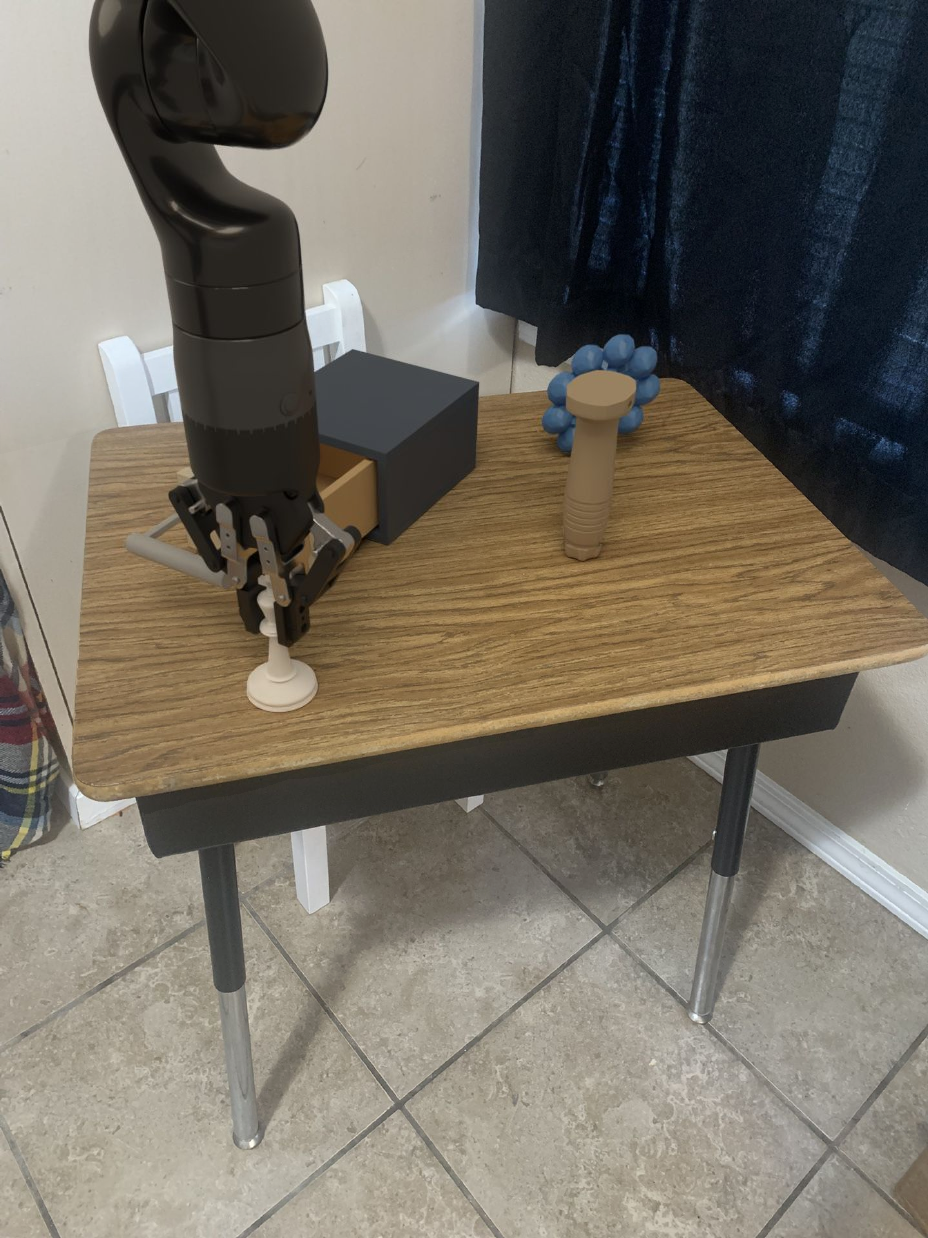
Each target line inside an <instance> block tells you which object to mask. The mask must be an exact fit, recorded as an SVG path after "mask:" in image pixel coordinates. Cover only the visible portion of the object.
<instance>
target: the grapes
mask: <svg viewBox="0 0 928 1238" xmlns="http://www.w3.org/2000/svg"><path fill="white" fill-rule="evenodd" d="M657 363H658V353H657V351H656V349H654V348H653V347H652V346H649V345H643V346H639V347H637V348H636V346H635V339H634V338H633V337H632V336H631V335H629V334H623V333H621V334H620V333H619V334H617V335H615V336H612V337H611V338H610V339H609V340H608V341H607V342H606V343H605V345H604V347H603V349H602V348H601V347H600V346H598V344H586V345H584V346H582V347H580V348H579V349H578V350H577V351H576V352H575V353H574V354H573V356H572V359H571V361H570V366H571V372H569V371H562V372H559V373H557V374H556V375H555V376H554V377H553V378H552V379H551V380H550V381H549V383H548V385H547V389H546V392H547V398H548V400H549V401H550V402H551V403H552V404H551V405H550V406H549V407H548V408H547V409H546V410H545V411H544V413H543V414H542V418H541V424H542V429H543V430H544V432H546V433H547V434H549V435H557V437H556V444H557V448H558V449H559V450H560V451H561V452H562V453H566V454H571V452H572V446H573V439H574V433H575V427H576V419H577V417H575V416H574V415H572V414H571V413H570V412H569V411H567V410H566V393H567V386H568V384H569V383H570V382H571V381H572V380H573V379H575V378H576V377H577V376H579V375H582V374H585V373H588V372H592V371H596V370H606V371H613V372H617V373H621V374H624V375H627V376H629V377H631V378H633V379H634V380H635V381H636V394H635V401H634V404H633V406H632V408H631V411H630V412H629V414H628V415H626V416H624V417H622V418H620V419H619V425H618V433H617V435H624V436H625V435H629V434H632V433H634V432H635V431H637V430H638V428H640V426H642V423H643V421H644V418H645V417H644V409H643V407H642V406H646V405H649V404H651V403H652V402H653V401H654V400H655V399H657V397H658V396H659V393H660V391H661V381H660V378H659V377H658V376H657V375H656V374H653V371H654V370H655V368H656V366H657Z"/></svg>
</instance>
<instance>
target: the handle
mask: <svg viewBox="0 0 928 1238" xmlns="http://www.w3.org/2000/svg"><path fill="white" fill-rule="evenodd" d="M635 394H636V381H635V380H634V379H633V378H631V377H629V376H627V375H624V374H621V373H617V372H613V371H606V370H596V371H592V372H588V373H585V374H582V375H579V376H577V377H576V378H575V379H573V380H572V381H571V382H570V383H569V384H568V386H567V393H566V410H567V411H569V412H570V413H571V414H572V415H574V416H575V417H577V419H576V427H575V433H574V439H573V446H572V452H571V453H570V458H569V463H568V468H567V469H568V470H567V475H566V481H565V485H564V486H565V487H564V495H563V505H562V533H563V537H562V543H563V547H564V552H565V555H566V556H567V557H568V558H574V559H576V560H578V561H580V562H585V561H586V560H589V559H592V558H593V559H594V558H597V557H598V556H600V554H601V551H602V547H603V542H602V540H603V539H604V537H605V534H606V531H607V527H608V522H609V519H610V513H611V509H612V501H613V495H614V484H615V483H614V482H615V468H616V455H617V444H618V425H619V419H620V418H622V417H624V416H626V415H628V414H629V412H630V411H631V408H632V406H633V404H634V401H635Z"/></svg>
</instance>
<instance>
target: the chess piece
mask: <svg viewBox="0 0 928 1238" xmlns="http://www.w3.org/2000/svg"><path fill="white" fill-rule="evenodd" d="M258 584H260V585H263V586H266V587H267V589H266V590H264V591H262V592H261V593H260V594H259V595H258V597H257V602H258V604H259V606H260V608H261V609H262V611H263V613H264V615H265V617H266V618H264V619H263V620H262V621H261V623H260V631H261V632H260V633H261V634H262V635H264V636H266V637H268V660H267V661H266V662H264V663H261V664H260V665H258V666H257V667H256V668H255V669H253V670H252V671H251V673H250V674H249V675H248V678H247V679H246V680H247V681H246V696H247V698H248V700H249V701H250V703H251V704H252V705H253V706H255V707H256V708H258V709H260V710H262V711H266V712H271V713H286V712H291V711H295V710H298V709H300V708H303V707H304V706H306V705H307V704H309V703H310V702H311V701H312V700H313V699H314V698H315V696H316V695H317V692H318V690H319V689H318V688H319V684H318V683H319V682H318V679H317V675H316V673H315V671H314V670H313V668H312V667H311V666H310V665H308V664H306V663H305V662H303V661H301V660H298V659H293V658H291V656H290V653H289V649H288V648H287V647H285V646H282V645H280V644H278V639H277V630H276V622H275V613H274V604H273V603H274V602H275V601H276V600H275V599H274V595H273V590H272V585H271V580H270V576H269V575H267V574H265V576H263V575H261V576H260V577H259V578H258Z"/></svg>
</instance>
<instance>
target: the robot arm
mask: <svg viewBox="0 0 928 1238" xmlns="http://www.w3.org/2000/svg"><path fill="white" fill-rule="evenodd" d="M88 57H89V64H90V71H91V76H92V79H93V83H94V86H95V90H96V94H97V97H98V100H99V103H100V106H101V108H102V110H103V113H104V116H105V118H106V121H107V124H108V126H109V128H110V131H111V133H112V135H113V137H114V140H115V142H116V145H117V147H118V149H119V151H120V154H121V156H122V158H123V161H124V162H125V165H126V168H127V169H128V172H129V174H130V177H131V180H132V181H133V183H134V186H135V188H136V189H135V190H136V192H137V194H138V197H139V198H140V201H141V203H142V206H143V208H144V211H145V213H146V214H147V217H148V219H149V221H150V224H151V225H152V228H153V230H154V233H155V235H156V238H157V241H158V244H159V248H160V254H161V262H162V267H163V273H164V280H165V286H166V291H167V298H168V304H169V310H170V317H171V326H172V357H173V367H174V373H175V374H174V375H175V380H176V385H177V390H178V391H177V392H178V397H179V403H180V410H181V416H182V423H183V429H184V435H185V440H186V446H187V453H188V459H189V465H190V468H191V470H192V472H193V474H194V476H193V477H191V478H190V479H187V480H186V481H184V482H183V483H181V484H179V485H178V484H177V486H175V487H174V488H173V489H170V490H169V491H168V493H167V497H168V500H169V502H170V505H172V507H173V509H174V511H175V513H176V512H177V514H178V516H179V518H180V519H181V521H182V522H181V523H182V525H183V526H184V528H185V531H186V530H187V532H188V534H189V535H190V537H191V539H192V541H193V542H194V544H195V546H196V548H197V549H196V550H197V552H198V553H199V556H201V557H202V558H203V560H204V562H205V564H206V565H207V567H208V568H209V569H210V570H211V571H212V572H214V573H218V572H219V571H221V570H222V571H223V572H224V573H226V574H227V575H228V580H229V582H230V584H231V585H232V588H235V593H236V600H237V607H238V613H239V616H240V619H241V621H242V622H243V623H244V624H243V625H244V630H245V632H247V633H250V634H253V635H255V636H256V635H259V634H260V633H261V631H260V623H261V621H262V620H263V619H264V618H266V617H265V615H264V613H263V611H262V609H261V608H260V606H259V604H258V602H257V597H258V595H259V594H260V593H261V592H262V591H264V590H266V589H267V587H266V586H263V585H260V584H258V578H259V577H260V576H261V575H263V576H265V574H267V575H269V576H270V580H271V585H272V590H273V595H274V599H275V600H276V601H275V602H274V603H273V604H274V613H275V622H276V630H277V639H278V644H280V645H282V646H285V647H287V649H288V648H289V649H290V648H291V647H293V646H294V645H295V644H297V643H298V642H299V641H300V640H301V639H302V638H303V637H304V636H306V635H307V633H308V632H310V629H311V615H310V607H311V606H313V605H314V604H315V603H316V602H317V601H318V600H320V599H321V598H322V597H323V596H324V595H325V594H326V593H328V591H329V590H331V589H332V588H333V587H334V586H335V584H336V583H337V581H338V580H339V578H340V576H341V574H342V573H343V571H344V569H345V568H346V566H347V564H348V563H349V561H350V560H351V558H352V556H353V554H354V553H355V551H356V550H357V548H358V547H359V545H360V543H361V541H362V539H363V538H362V535H361V533H360V531H359V530H358V529H357V528H356V527H355V526H352V525H349V526H347V527H346V528H345V529H343V530H342V529H341V528H340V527H338V526H337V525H336V524H335V523H334V522H333V521H331V520H330V519H329V518H328V517H327V516H326V515H324V511H325V507H324V503H323V500H322V498H321V496H320V494H319V492H318V489H317V486H316V478H317V473H318V468H319V464H320V444H319V430H318V416H317V401H316V387H315V373H314V372H315V360H314V351H313V345H312V340H311V336H310V331H309V326H308V320H307V315H306V314H307V312H306V300H305V299H306V297H305V296H306V295H305V285H304V270H303V258H302V245H301V244H302V243H301V235H300V229H299V224H298V221H297V217H296V215H295V213H294V211H293V210H292V208H291V207H290V206H289V205H288V204H287V203H286V202H285V201H283V200H281V199H280V198H278V197H276V196H274V195H272V194H270V193H268V192H265V191H263V190H261V189H258V188H256V187H254V186H252V185H249V184H247V183H246V182H243V180H240V179H238V178H237V177H236V176H234V174H232V173H231V172H230V171H229V170H228V169H227V167H226V165H225V164H224V162H223V160H222V158H221V157H220V154H219V153H218V151H217V148H216V146H221V147H231V148H238V149H247V150H256V151H276V150H277V151H279V150H284V149H289V148H291V147H292V146H295V145H296V144H298V143H300V142H301V141H302V140H303V139H305V138H306V137H307V136H308V135H309V134H310V133H311V132H312V131H313V129H314V127H315V126H316V124H317V123H318V122H319V119H320V117H321V115H322V112H323V109H324V106H325V103H326V100H327V96H328V87H329V58H328V50H327V45H326V40H325V36H324V32H323V28H322V25H321V21H320V19H319V15H318V13H317V11H316V8H315V6H314V3H313V1H312V0H94V2H93V4H92V10H91V14H90V19H89V25H88ZM214 530H215V532H216V534H217V535H218V537H219V539H220V541H221V547H220V548H219V549H218V550H217V548H216V547H215V545H214V543H213V541H212V539H211V537H210V534H211V532H213V531H214ZM310 532H312V534H313V536H314V544H313V547H314V550H313V551H312V552H311V544H310V538H309V533H310ZM310 554H312V556H313V557H314V558H316V559H315V561H314V563H313V565H312V566H311V568H310V569H309V563H308V558H309V556H310ZM290 572H291V576H292V578H290V577H289V576H290ZM263 573H264V574H263Z"/></svg>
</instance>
